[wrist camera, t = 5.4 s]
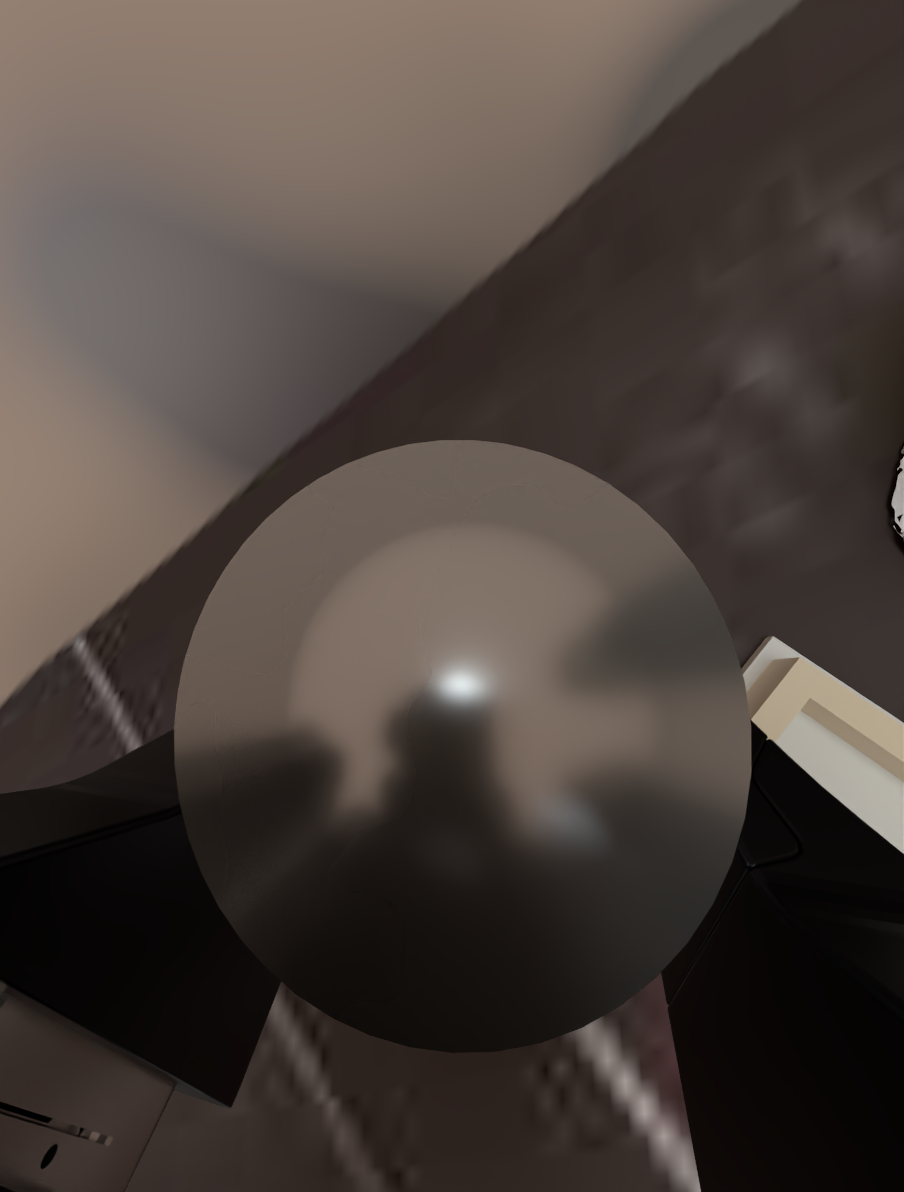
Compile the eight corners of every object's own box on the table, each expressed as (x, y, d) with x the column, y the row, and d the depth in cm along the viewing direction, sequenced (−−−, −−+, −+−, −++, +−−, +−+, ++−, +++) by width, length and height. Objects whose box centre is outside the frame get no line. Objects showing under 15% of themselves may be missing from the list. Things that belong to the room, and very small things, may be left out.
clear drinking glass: (528, 786, 15) (465, 1230, 3) (429, 697, 16) (83, 736, 4) (611, 681, 15) (901, 668, 3) (507, 600, 16) (400, 352, 4)
